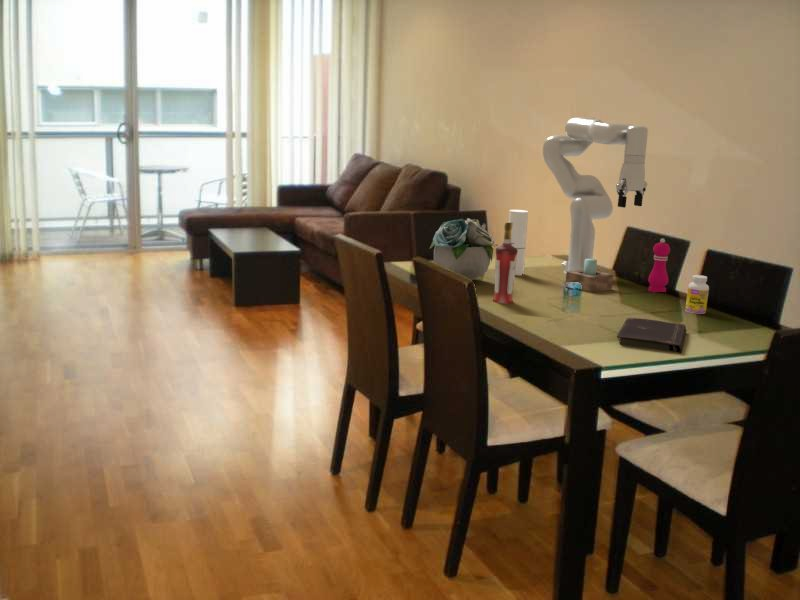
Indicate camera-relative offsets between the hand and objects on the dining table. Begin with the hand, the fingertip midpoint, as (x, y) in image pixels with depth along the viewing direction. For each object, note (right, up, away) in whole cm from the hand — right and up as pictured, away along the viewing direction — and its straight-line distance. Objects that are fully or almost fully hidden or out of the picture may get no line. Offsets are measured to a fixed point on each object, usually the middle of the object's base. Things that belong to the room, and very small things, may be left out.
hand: (629, 206), depth 339 cm
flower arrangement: (-63, -29, 0) cm, 69 cm away
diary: (-12, -48, -73) cm, 88 cm away
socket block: (-16, -31, -1) cm, 34 cm away
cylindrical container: (-40, -25, +21) cm, 52 cm away
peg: (-16, -30, -1) cm, 34 cm away
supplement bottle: (+14, -40, -32) cm, 53 cm away
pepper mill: (+10, -32, 0) cm, 33 cm away
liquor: (-51, -37, -31) cm, 70 cm away
